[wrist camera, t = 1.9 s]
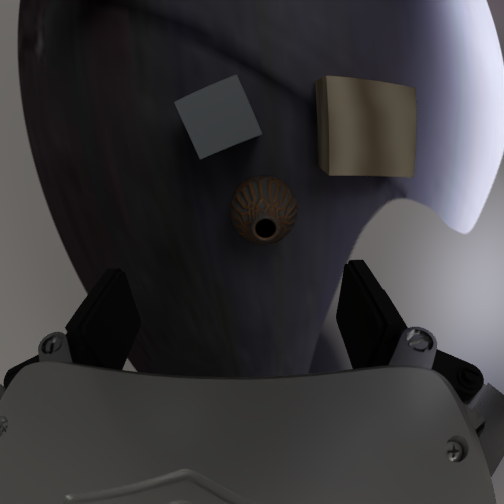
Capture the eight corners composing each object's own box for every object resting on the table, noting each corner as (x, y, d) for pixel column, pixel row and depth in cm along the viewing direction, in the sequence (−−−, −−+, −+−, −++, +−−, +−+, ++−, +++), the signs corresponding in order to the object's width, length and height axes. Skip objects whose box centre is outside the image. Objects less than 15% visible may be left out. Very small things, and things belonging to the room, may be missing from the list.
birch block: (394, 89, 25) (415, 88, 20) (393, 167, 29) (413, 177, 25) (314, 81, 25) (326, 75, 20) (317, 166, 30) (329, 175, 25)
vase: (303, 204, 32) (319, 236, 24) (256, 236, 34) (257, 276, 26) (268, 157, 29) (274, 174, 21) (220, 194, 31) (209, 222, 23)
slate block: (239, 82, 25) (236, 74, 20) (260, 131, 28) (262, 134, 22) (189, 104, 26) (174, 102, 21) (210, 151, 29) (200, 159, 23)
